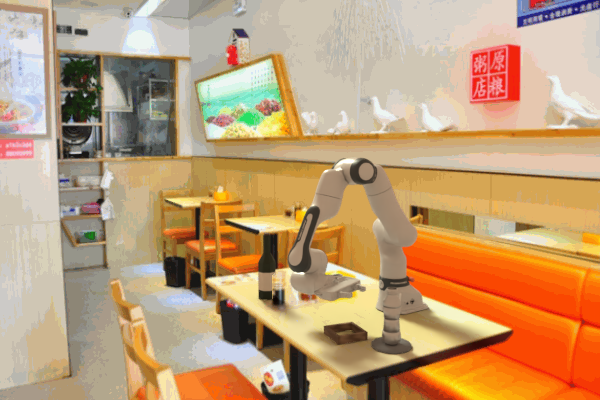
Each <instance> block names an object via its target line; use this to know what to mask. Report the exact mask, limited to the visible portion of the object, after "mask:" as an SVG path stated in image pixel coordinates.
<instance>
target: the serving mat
mask: <svg viewBox="0 0 600 400" xmlns="http://www.w3.org/2000/svg"><path fill="white" fill-rule="evenodd" d="M370 346H371V347H372V349H374V350H375V351H377V352H380V353H383V354H389V355H400V354H405V353H408V352H410V351H411V350H412V347H413V346H412V343H411V342H410V341H409V340H407V339H405V338H402V337H401V341H400V342H399V344H396V345H389V344H386V343H384V342H383V340H382V336H379V337H376V338H374V339H372V340H371V342H370Z"/></svg>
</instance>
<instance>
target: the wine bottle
mask: <svg viewBox="0 0 600 400" xmlns="http://www.w3.org/2000/svg"><path fill="white" fill-rule="evenodd" d="M262 245H263V246H262V254H261V256H260V257H259V259H258V261H257V267H258V268H257V275H258V277H257V278H258V283H257V284H258V285H257V286H258V290H257V291H258V293H257V294H258V300H262V301H272V300H273V299H272V275H273V274H274V273H275V274H276V259H275V258H274V256H273V254H272V253H271V234H270V232H264V233H263V235H262Z"/></svg>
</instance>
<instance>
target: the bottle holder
mask: <svg viewBox="0 0 600 400" xmlns="http://www.w3.org/2000/svg"><path fill="white" fill-rule="evenodd" d="M348 331H349V332H350V331H351V332H353V333H346V334H341V335H340V334H338V333H343V332H348ZM368 334H369V333H368V331H367V330H365V329H364V328H363V327H361V326H359V325H358V324H356V323H355V322H353V321H347V322H340V323H339V322H338V323H334V324H333V323H332V324H327V325H323V335H325V336H327V338H328V339H330V340H331V341H332V342H333V343H335V344H336V345H337V346H339V345H346V344H351V343H358V342H365V341H368V340H369V339H368V338H369V337H368Z"/></svg>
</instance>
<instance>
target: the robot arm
mask: <svg viewBox="0 0 600 400" xmlns="http://www.w3.org/2000/svg"><path fill="white" fill-rule="evenodd" d="M355 185H356V186H357V185H359V186H363V189H364V192H365V196H366V198H367V200H368V202H369V205H370V208H371V211H372V212H373V214H374V215H375V216H376V218H375V220H374V221H373V223H372V232H373V235H374V236H375V239H376V242H377V248H378V253H379V259H380V260H379V261H380V262H379V265H380V267H379V269H380V270H379V276H378V289H379V290H378V297H377V301H376V305H375V308H376V309H377V310H379V311H381V312H383V305H382V302H383V299H384V298H385V297H386V296H387V293H386V292H387V288H388V287H395V288H398V294H397V296H398V297H399V299H400V301H401V310H400V315H408V314H411V313H415V312H419V311H423V310H427V309H429V305H428V304H427V303H426V302H425V301H424V300H423V296H422V293H421V292H420V290H418V289H417V288H415V287H414V286H413V285H412V284H411V283H414V282H415V277H413V276H408V275H407V263H408V262H407V256H406V254H405V253H404V250H403V248H408V247H411V246H413V245H414V243H416V241H417V238H418V230H417V228H416V227H415V225H414V224H412V222H411V221H410V220H409V218H408V217H407V215H406V213H405V212H404V210H403V209H402V207H401V205H400V203H399V202H398V200H397V197H396V195H395V194H396V193H395V192H394V189H393V186H392V184H391V180H390V179H389V176H388V174H387V172H386V171H385V169H384V167H383V166H382V165H380V164H378V163H373V161H371V160H370V159H367V158H364V157H354V156H352V157H347V158H344V157H343V158H340V159H338V160H336V162H334V164H333V165H332V167H331V168H328V169H325V170H324V171H323V172H322V173H321V175H320V177H319V180H318V182H317V185H316V189H315V192H314V197H313V198H312V199H313V200H312V202H311V204H310V206H309V208H308V209H307V210H306V211H305V213H304V216H303V218H302V221H301V224H300V226H299V229H298V232H297V234H296V238H295V241H294V243H293V245H292V247H291V248H290V250H289V251H288V254H287V264H288V267H289V268H290V270H291V272H292V273H291V274H290V278H289V279H290V280H289V281H290V285H291V287H292V288H293V290H295V291H296V292H299V293H301V294H306V295H311V296H312V295H313V296H315V297H318V298H320V299H321V300H323V301H329V302H335V301H336V300H339V299H352V298H353V293H354V292H356V291H359V292H362V293H363V292H366V291H367V290H366V289H367V288H366V286H365V285H361V280H360V279H359V278H356V277H352V276H346V275H344V276H343V274H341V273H335V274H334V273H333V274H330V273H329V274H326V272H327V268H328V263H329V262H328V261H329V257H328V255H327V253H326V252H325V251H324V250H322V249H318V248H313V247H311V246H312V243H313V240H314V237H315V234H316V231H317V229H318V227H319V226H320V225H321V224H322V223H324V222H326V221H328V220H331V219H333V218H335V217H337V215H338V213H339V212H340V209H341V206H342V203H343V198H344V193H345V192H344V191H345V190H346V188H347V186H355ZM410 282H411V283H410Z"/></svg>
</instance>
